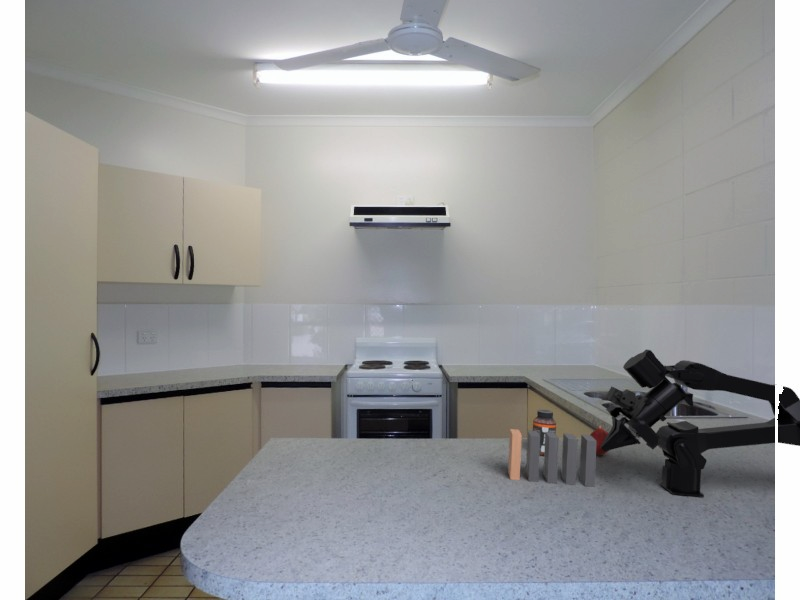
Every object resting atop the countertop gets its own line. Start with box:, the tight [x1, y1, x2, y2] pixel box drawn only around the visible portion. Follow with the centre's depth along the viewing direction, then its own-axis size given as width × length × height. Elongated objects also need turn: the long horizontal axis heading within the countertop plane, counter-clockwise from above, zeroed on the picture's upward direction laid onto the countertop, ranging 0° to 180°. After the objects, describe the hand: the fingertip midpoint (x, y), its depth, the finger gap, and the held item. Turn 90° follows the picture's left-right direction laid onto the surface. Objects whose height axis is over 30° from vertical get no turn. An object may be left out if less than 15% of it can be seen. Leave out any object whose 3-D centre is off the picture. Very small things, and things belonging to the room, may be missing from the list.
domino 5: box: [579, 434, 597, 488], centre depth 111 cm, size 2×5×10 cm, turn 173°
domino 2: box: [525, 430, 540, 483], centre depth 112 cm, size 2×5×10 cm, turn 173°
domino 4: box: [561, 432, 578, 486], centre depth 111 cm, size 2×5×10 cm, turn 173°
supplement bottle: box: [532, 409, 557, 457], centre depth 132 cm, size 6×6×11 cm
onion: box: [589, 425, 610, 456], centre depth 133 cm, size 6×6×8 cm
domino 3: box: [543, 432, 560, 484], centre depth 112 cm, size 2×5×10 cm, turn 173°
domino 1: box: [507, 428, 523, 481], centre depth 113 cm, size 2×5×10 cm, turn 173°
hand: (601, 449), depth 110 cm, fingers closed
